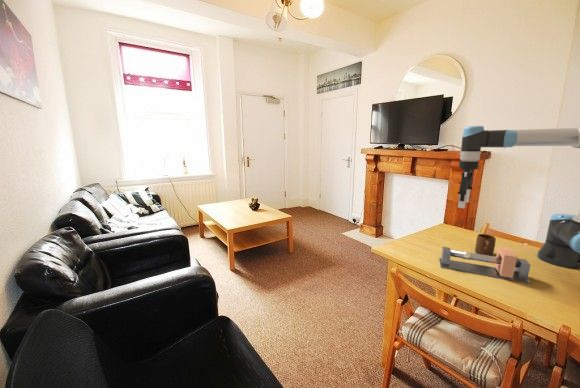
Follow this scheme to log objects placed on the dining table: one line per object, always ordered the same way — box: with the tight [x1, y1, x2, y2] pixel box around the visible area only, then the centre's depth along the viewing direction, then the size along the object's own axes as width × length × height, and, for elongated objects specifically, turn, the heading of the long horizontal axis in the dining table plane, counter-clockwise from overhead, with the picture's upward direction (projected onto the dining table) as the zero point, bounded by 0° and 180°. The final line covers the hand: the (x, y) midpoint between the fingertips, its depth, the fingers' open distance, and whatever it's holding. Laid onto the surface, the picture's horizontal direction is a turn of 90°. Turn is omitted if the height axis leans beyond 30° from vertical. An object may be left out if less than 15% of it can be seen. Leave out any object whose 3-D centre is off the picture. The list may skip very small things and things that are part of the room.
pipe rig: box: [438, 246, 532, 285], centre depth 115 cm, size 32×9×8 cm, turn 64°
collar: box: [494, 245, 518, 278], centre depth 111 cm, size 4×10×10 cm, turn 155°
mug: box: [474, 233, 497, 256], centre depth 130 cm, size 12×8×9 cm, turn 150°
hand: (463, 204), depth 124 cm, fingers open, 13 cm apart
